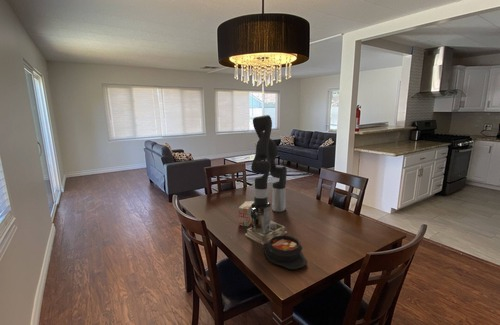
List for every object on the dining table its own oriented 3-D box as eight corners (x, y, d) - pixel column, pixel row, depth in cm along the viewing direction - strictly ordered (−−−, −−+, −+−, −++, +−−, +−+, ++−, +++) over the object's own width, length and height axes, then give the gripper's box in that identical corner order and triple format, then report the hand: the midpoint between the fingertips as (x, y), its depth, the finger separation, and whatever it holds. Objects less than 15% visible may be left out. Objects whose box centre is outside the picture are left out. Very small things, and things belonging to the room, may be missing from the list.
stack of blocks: (250, 213, 182) (249, 196, 179) (258, 214, 180) (258, 197, 177) (238, 225, 162) (238, 207, 160) (248, 227, 160) (248, 208, 158)
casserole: (255, 251, 133) (255, 236, 131) (283, 241, 142) (283, 228, 140) (285, 278, 112) (286, 260, 110) (316, 264, 121) (317, 248, 120)
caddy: (268, 224, 163) (268, 217, 162) (286, 233, 152) (287, 225, 151) (245, 235, 150) (245, 227, 149) (263, 245, 139) (263, 236, 138)
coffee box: (251, 229, 148) (251, 203, 145) (258, 226, 152) (258, 200, 149) (263, 235, 142) (263, 207, 138) (270, 231, 146) (270, 204, 143)
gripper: (265, 191, 150) (264, 217, 154) (246, 196, 141) (247, 224, 144) (274, 194, 145) (274, 221, 148) (256, 200, 135) (256, 229, 139)
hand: (260, 222), depth 146 cm, fingers closed on coffee box, 6 cm apart
